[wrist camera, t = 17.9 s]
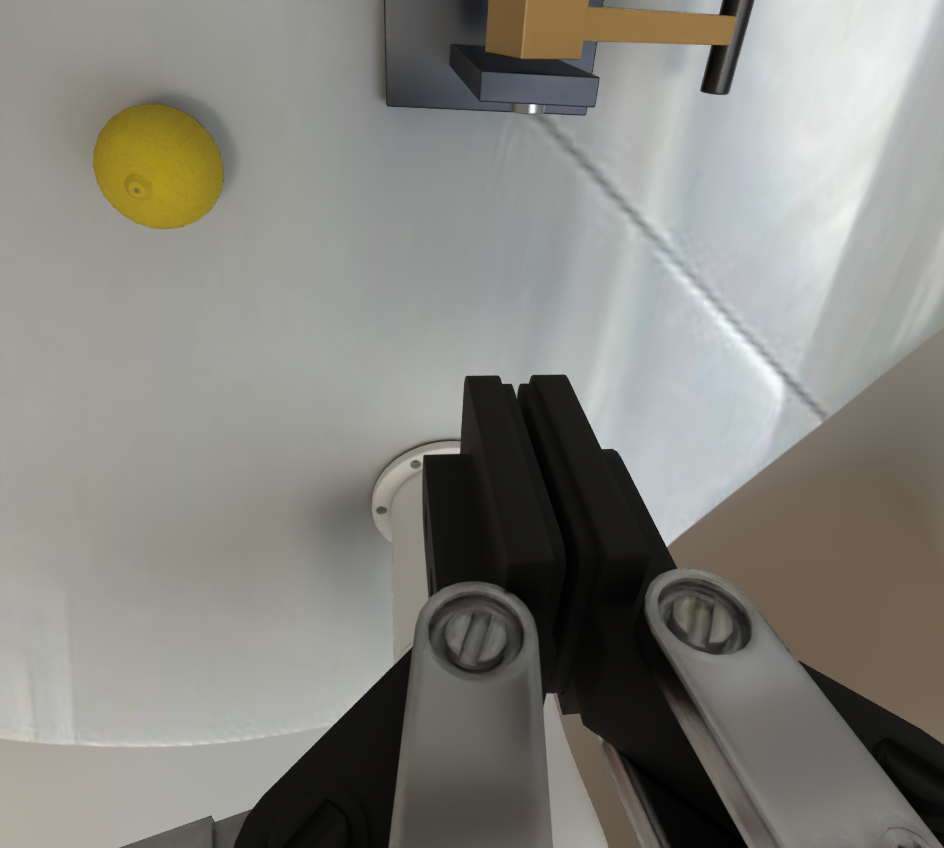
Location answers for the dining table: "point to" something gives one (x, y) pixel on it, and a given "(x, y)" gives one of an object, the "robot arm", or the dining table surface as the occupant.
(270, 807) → the robot arm
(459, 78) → the bracket
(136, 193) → the lemon
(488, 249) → the dining table surface
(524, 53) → the lever
